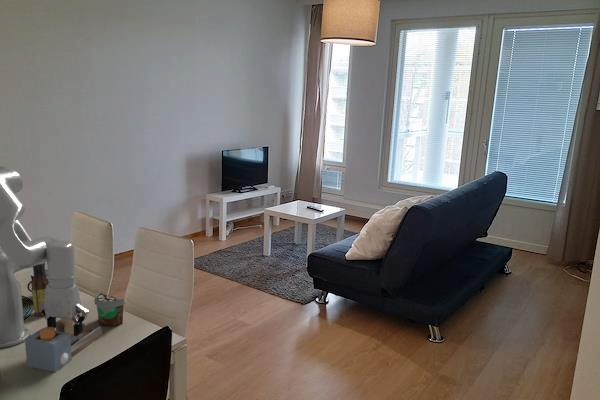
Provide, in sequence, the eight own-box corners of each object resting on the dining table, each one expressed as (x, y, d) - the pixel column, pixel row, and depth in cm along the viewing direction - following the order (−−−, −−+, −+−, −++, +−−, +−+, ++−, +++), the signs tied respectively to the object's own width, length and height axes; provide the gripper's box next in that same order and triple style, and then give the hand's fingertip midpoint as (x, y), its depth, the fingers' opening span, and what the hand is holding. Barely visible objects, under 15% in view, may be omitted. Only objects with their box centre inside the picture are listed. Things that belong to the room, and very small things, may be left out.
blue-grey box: (27, 366, 145) (24, 338, 143) (44, 354, 152) (42, 328, 150) (56, 372, 143) (54, 344, 141) (72, 360, 149) (71, 333, 148)
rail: (45, 355, 151) (45, 347, 150) (82, 331, 167) (81, 323, 167) (67, 360, 149) (67, 351, 149) (102, 334, 165) (102, 326, 165)
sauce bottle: (56, 310, 182) (53, 260, 177) (46, 317, 176) (43, 266, 171) (40, 308, 182) (36, 258, 178) (29, 316, 176) (25, 264, 172)
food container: (87, 322, 174) (86, 296, 171) (101, 316, 179) (100, 290, 177) (111, 331, 168) (110, 304, 166) (125, 324, 173) (124, 298, 171)
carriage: (52, 349, 152) (50, 323, 150) (65, 340, 157) (64, 314, 155) (66, 352, 150) (64, 325, 149) (79, 343, 156) (77, 317, 154)
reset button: (37, 345, 145) (36, 331, 144) (47, 339, 148) (46, 325, 147) (49, 347, 144) (48, 334, 143) (58, 341, 147) (57, 328, 146)
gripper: (29, 281, 148) (33, 332, 151) (78, 289, 144) (80, 342, 147) (47, 273, 155) (50, 322, 158) (94, 280, 151) (96, 330, 154)
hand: (65, 331), depth 153 cm, fingers open, 9 cm apart
